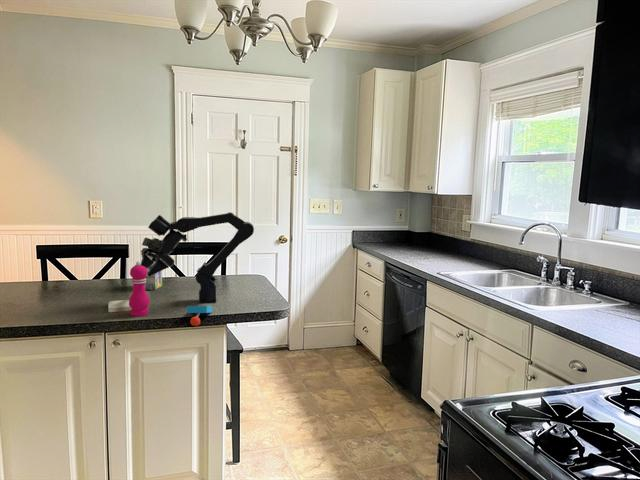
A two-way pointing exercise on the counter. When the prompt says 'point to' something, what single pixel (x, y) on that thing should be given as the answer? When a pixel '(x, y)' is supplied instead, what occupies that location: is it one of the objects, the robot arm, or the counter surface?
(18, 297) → the counter surface
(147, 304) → the pepper mill
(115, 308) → the plinth
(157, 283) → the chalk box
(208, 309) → the lever
